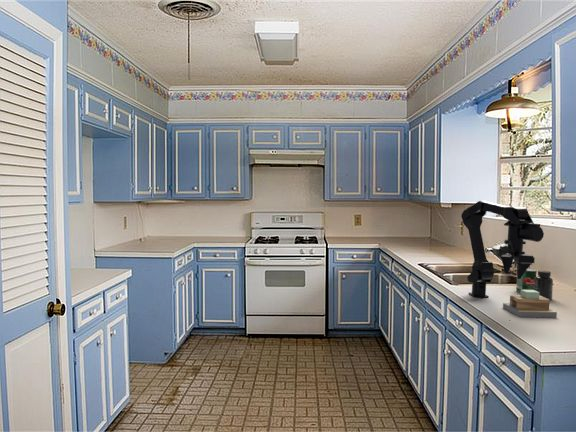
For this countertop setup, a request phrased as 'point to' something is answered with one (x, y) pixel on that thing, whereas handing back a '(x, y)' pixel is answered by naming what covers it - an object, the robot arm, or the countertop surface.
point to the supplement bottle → (544, 284)
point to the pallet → (529, 303)
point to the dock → (529, 312)
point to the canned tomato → (526, 281)
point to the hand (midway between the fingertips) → (512, 276)
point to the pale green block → (529, 294)
